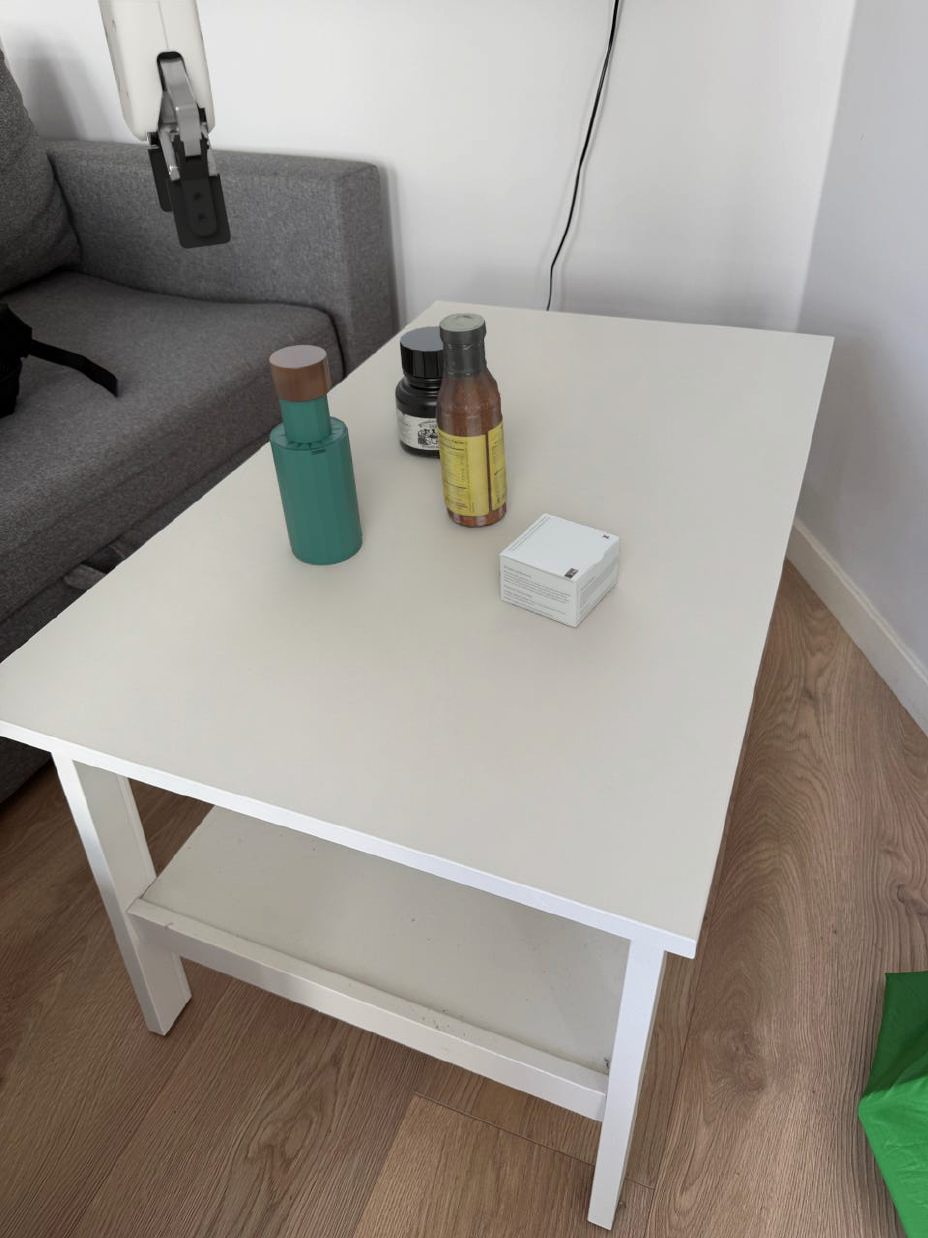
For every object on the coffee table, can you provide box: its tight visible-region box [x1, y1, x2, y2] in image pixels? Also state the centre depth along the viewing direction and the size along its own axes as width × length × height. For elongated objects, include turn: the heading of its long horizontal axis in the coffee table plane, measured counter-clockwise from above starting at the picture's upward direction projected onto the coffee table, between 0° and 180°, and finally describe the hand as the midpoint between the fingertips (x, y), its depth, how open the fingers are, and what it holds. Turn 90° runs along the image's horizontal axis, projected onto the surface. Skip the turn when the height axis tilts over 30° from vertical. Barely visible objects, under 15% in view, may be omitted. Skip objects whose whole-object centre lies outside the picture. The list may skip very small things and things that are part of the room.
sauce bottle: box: [436, 312, 508, 528], centre depth 85 cm, size 7×6×20 cm
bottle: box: [268, 393, 363, 566], centre depth 83 cm, size 7×7×16 cm
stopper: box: [268, 344, 332, 402], centre depth 78 cm, size 5×5×6 cm
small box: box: [498, 512, 622, 628], centre depth 79 cm, size 8×8×5 cm
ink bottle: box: [394, 325, 444, 458], centre depth 100 cm, size 10×9×12 cm
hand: (194, 225), depth 62 cm, fingers open, 9 cm apart
